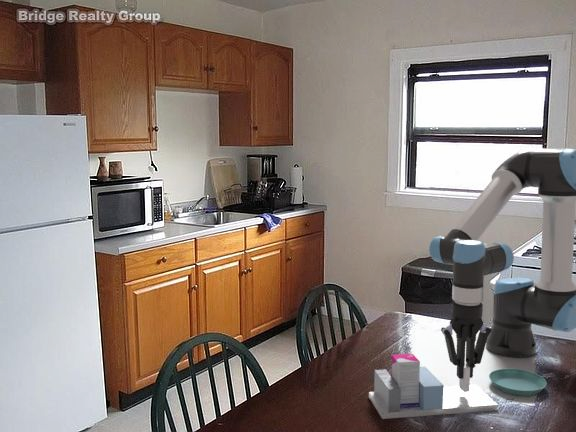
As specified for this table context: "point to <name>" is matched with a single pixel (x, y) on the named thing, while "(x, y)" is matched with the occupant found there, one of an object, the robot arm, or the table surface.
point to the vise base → (389, 406)
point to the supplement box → (407, 377)
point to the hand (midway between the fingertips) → (464, 389)
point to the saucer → (517, 381)
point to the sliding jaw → (430, 390)
